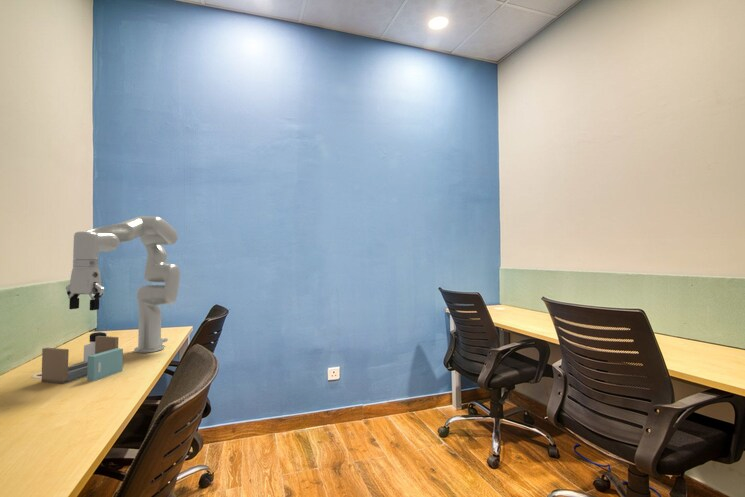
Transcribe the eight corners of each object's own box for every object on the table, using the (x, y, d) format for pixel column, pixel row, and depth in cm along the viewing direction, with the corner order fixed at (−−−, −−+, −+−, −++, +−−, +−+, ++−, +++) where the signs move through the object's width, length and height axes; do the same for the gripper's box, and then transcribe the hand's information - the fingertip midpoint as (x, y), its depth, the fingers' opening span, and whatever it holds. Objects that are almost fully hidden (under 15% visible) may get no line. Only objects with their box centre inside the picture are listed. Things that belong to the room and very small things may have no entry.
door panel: (115, 370, 147) (116, 348, 147) (122, 371, 146) (123, 348, 146) (86, 380, 135) (87, 356, 135) (94, 381, 134) (94, 356, 135)
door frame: (98, 364, 155) (98, 335, 155) (117, 365, 153) (118, 337, 153) (41, 381, 133) (42, 348, 133) (63, 383, 131) (64, 350, 131)
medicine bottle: (96, 362, 157) (97, 334, 157) (83, 361, 158) (83, 334, 158) (111, 358, 164) (112, 331, 164) (98, 357, 165) (99, 330, 165)
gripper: (113, 264, 140) (111, 309, 140) (78, 263, 144) (76, 307, 144) (93, 264, 133) (92, 311, 133) (57, 264, 137) (56, 309, 137)
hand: (84, 309), depth 138 cm, fingers open, 9 cm apart
